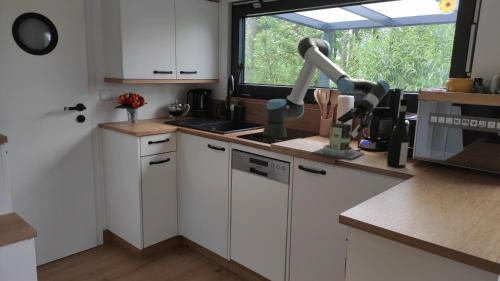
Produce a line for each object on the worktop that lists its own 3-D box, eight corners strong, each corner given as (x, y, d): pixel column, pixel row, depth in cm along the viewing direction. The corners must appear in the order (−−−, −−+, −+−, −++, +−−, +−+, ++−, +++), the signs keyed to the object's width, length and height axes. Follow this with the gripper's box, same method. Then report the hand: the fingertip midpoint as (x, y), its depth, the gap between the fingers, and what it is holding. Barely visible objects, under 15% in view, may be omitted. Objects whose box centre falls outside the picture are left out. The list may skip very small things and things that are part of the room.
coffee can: (348, 151, 188) (351, 124, 186) (349, 155, 178) (352, 126, 176) (328, 149, 190) (330, 122, 188) (328, 153, 180) (330, 124, 178)
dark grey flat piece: (327, 148, 198) (327, 142, 197) (364, 154, 187) (364, 147, 186) (312, 153, 181) (312, 147, 181) (351, 160, 170) (352, 153, 170)
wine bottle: (407, 166, 165) (415, 99, 160) (403, 169, 158) (412, 100, 153) (388, 163, 169) (396, 98, 164) (384, 165, 163) (392, 98, 158)
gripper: (390, 112, 178) (364, 143, 174) (353, 107, 200) (330, 135, 195) (383, 101, 175) (357, 132, 170) (347, 97, 196) (323, 125, 192)
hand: (342, 134), depth 183 cm, fingers open, 13 cm apart
